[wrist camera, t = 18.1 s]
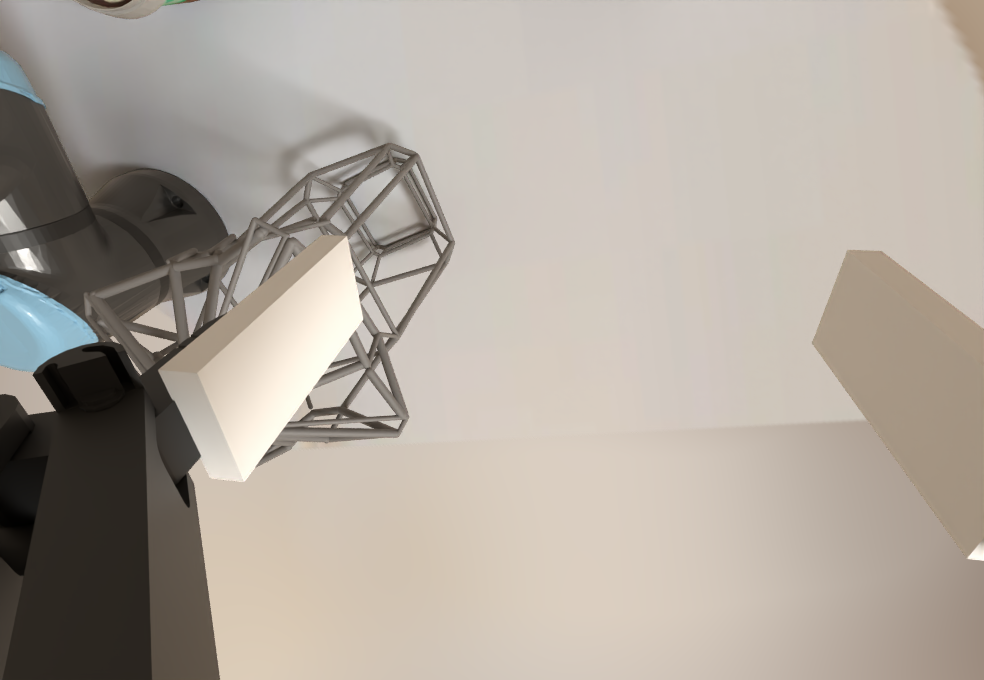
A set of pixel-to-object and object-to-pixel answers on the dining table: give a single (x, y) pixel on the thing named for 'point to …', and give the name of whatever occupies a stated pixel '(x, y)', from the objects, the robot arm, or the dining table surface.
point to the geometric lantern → (258, 231)
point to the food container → (128, 7)
